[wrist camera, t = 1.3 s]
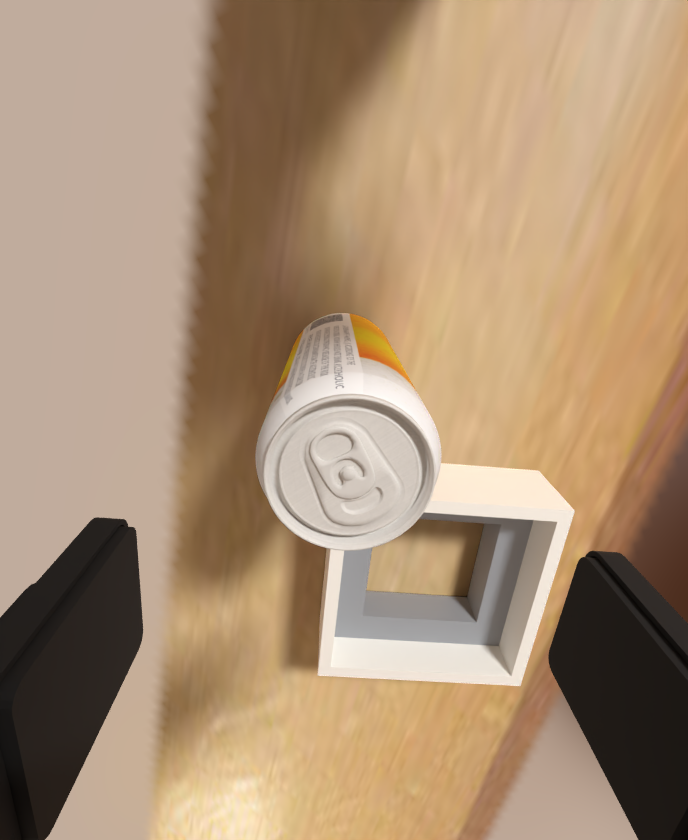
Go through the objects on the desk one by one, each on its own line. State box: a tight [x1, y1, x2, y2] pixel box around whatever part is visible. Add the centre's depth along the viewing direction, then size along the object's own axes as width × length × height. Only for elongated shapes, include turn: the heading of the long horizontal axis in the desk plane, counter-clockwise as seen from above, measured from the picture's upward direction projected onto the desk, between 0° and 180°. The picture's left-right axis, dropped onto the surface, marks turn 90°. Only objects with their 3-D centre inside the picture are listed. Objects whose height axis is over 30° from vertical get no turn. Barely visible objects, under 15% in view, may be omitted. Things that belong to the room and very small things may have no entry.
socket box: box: [318, 463, 575, 686], centre depth 31 cm, size 14×14×5 cm
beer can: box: [255, 313, 441, 551], centre depth 21 cm, size 6×6×15 cm
